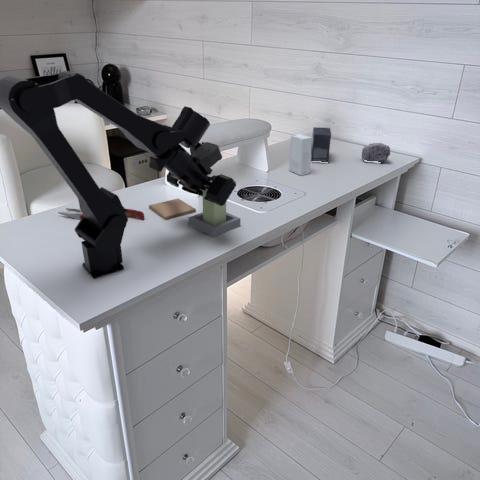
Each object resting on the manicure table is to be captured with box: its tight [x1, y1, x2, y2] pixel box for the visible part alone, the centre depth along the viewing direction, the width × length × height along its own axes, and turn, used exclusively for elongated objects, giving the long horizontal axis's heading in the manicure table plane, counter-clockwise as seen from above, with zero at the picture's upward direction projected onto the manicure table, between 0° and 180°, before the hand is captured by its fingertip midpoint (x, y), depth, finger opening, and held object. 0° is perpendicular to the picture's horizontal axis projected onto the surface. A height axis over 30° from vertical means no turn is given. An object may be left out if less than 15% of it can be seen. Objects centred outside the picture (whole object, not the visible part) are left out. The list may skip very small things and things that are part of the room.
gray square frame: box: [188, 211, 241, 238], centre depth 108 cm, size 9×9×2 cm
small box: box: [310, 127, 332, 163], centre depth 158 cm, size 11×6×10 cm, turn 172°
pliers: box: [57, 207, 145, 221], centre depth 109 cm, size 12×21×3 cm, turn 70°
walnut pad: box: [148, 198, 197, 221], centre depth 116 cm, size 9×9×1 cm
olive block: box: [202, 190, 227, 227], centre depth 106 cm, size 4×4×10 cm
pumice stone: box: [361, 142, 391, 163], centre depth 158 cm, size 10×8×10 cm
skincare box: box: [288, 133, 312, 176], centre depth 143 cm, size 6×4×12 cm
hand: (218, 199), depth 106 cm, fingers closed on olive block, 4 cm apart
